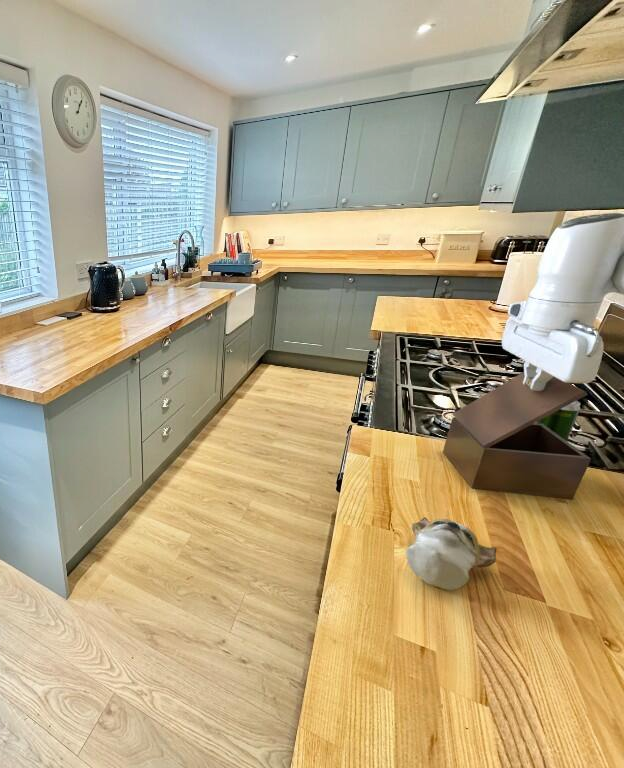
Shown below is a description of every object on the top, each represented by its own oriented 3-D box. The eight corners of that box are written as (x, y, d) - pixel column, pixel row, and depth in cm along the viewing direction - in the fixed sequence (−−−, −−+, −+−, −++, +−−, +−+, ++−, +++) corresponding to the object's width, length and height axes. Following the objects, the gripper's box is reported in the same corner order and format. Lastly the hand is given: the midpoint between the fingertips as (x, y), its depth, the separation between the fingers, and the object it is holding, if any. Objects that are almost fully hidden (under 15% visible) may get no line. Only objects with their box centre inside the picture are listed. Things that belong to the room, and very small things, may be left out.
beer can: (566, 458, 88) (588, 407, 84) (533, 454, 90) (552, 404, 86) (554, 446, 93) (573, 397, 88) (522, 442, 95) (540, 394, 90)
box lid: (538, 367, 82) (535, 364, 82) (588, 394, 70) (584, 391, 70) (454, 416, 89) (451, 414, 89) (486, 448, 77) (483, 445, 77)
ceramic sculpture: (395, 524, 61) (429, 487, 69) (382, 570, 64) (416, 529, 72) (489, 567, 53) (514, 519, 62) (469, 617, 56) (495, 565, 65)
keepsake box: (528, 460, 88) (542, 423, 85) (573, 499, 76) (591, 458, 73) (442, 452, 93) (452, 417, 90) (471, 488, 81) (484, 449, 78)
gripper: (630, 330, 62) (595, 413, 67) (544, 303, 80) (521, 370, 85) (577, 329, 64) (546, 410, 69) (504, 303, 82) (484, 368, 87)
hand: (532, 387), depth 78 cm, fingers closed, pressing on box lid
